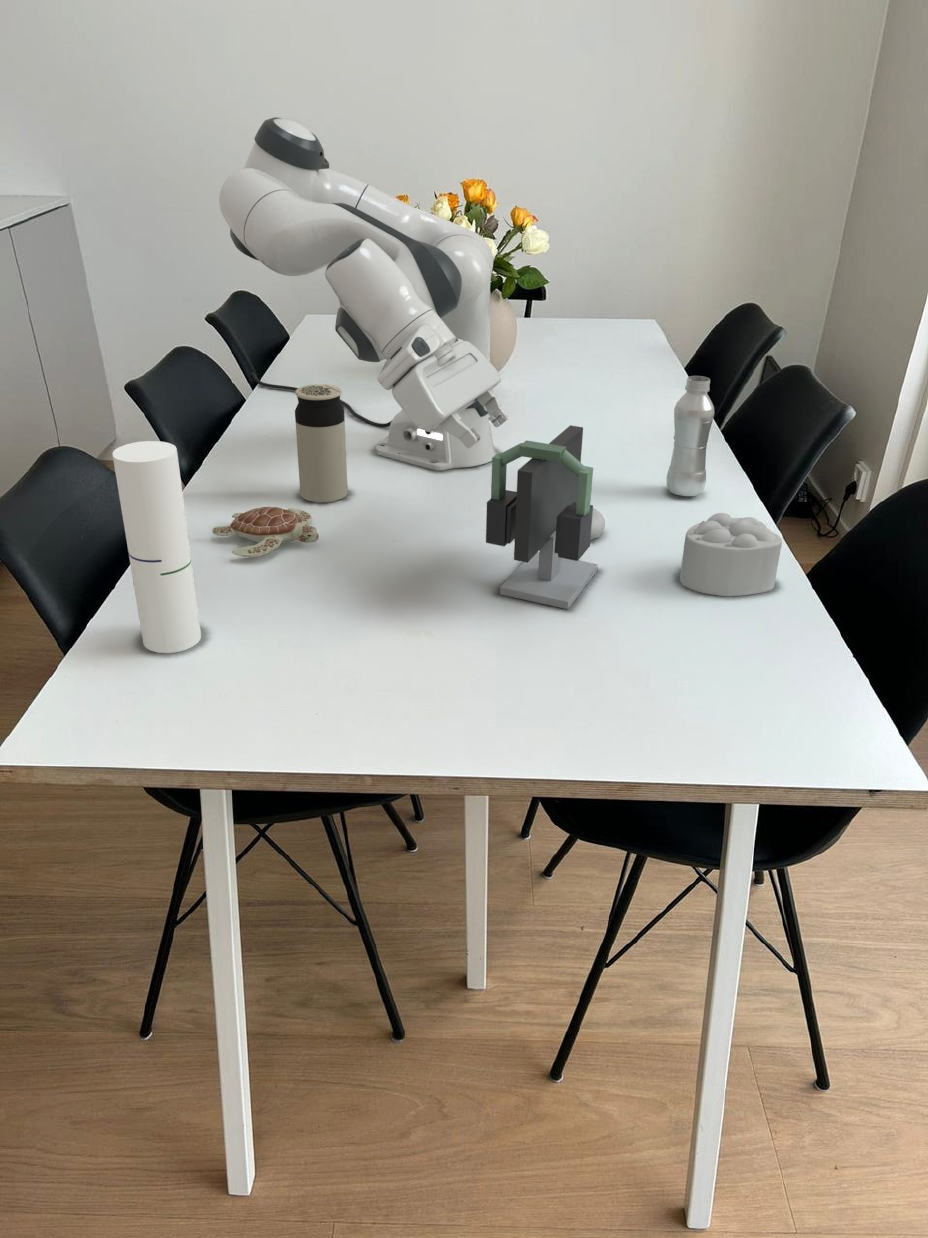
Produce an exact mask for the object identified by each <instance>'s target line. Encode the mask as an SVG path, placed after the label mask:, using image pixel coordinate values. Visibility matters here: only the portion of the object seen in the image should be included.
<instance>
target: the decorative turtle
mask: <svg viewBox="0 0 928 1238" xmlns="http://www.w3.org/2000/svg"><path fill="white" fill-rule="evenodd" d="M231 518H233V520H232V522H231V523H230V525H221V526H214V527H213V528H212V529H211V532H212V534H213V535H215V536H218V537H230V536H235V535H236V536H240V537H242V538H243V539H247V540H250V541H252V542H256V544H253V545H247V546H242V547H235V548H232V549H231V554H232V555H235V556H239V557H244V558H258V557H260V556H264V555H266V554H268V553H270V552H272V551H275V550H276V549H278V548H279V547H280V546H281V544H283V543H290V542H297V541H298V542H300V543H303V544H304V543H305V544H310V543H314V542H316V541H318V540H319V537H320V536H319V533H318V530H317V528H316V527H314V526H311V525H308V524H309V523H310V522H311V520H312V515H311V514H310V513H308V512H306V511H304V510H303V509H298V508H294V507H288V508H287V509H285V508H282V507H278V506H261V507H256V508H252V509H250V510H248V511H245V512H236V513H233V514H232V515H231Z"/></svg>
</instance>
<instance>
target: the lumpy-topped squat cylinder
mask: <svg viewBox="0 0 928 1238" xmlns="http://www.w3.org/2000/svg"><path fill="white" fill-rule="evenodd" d="M683 543H684V544H683V551H682V558H681V566H680V573H679V582H680V584H681V585H682V586H684V587H685V588H687V589H689V590H692V591H694V592H698V593H702V594H707V595H712V596H719V597H720V596H721V597H742V596H751V595H755V594H756V595H757V594H762V593H767V592H770V591H772V590H773V589H774V588H775V584H776V578H777V573H778V567H779V561H780V555H781V549H782V546H783V545H782V543H783V540H782V538H781V536H780V535H778V534H777V533H775V532H774V531H772V530H771V529H769V528H768V527H767V526H766V524H764V523H763V522H762V521H760V520H758V519H757V518H755V517H752V516H747V517H746V516H745V517H731V515H730V514H728V513H726V512H717V513H714V514H713V515H711V516H710V517H709V518H708V519H707V520H702V521H701V522H699V523H697V524H694V525H692V526H691V527H689V528H688V529H687V531H686V533H685V537H684V542H683Z"/></svg>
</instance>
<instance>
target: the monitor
mask: <svg viewBox="0 0 928 1238" xmlns="http://www.w3.org/2000/svg"><path fill="white" fill-rule="evenodd" d="M583 437H584V427H583V426H577V425H571V424H570V425H569V426H568V427H566V428H565V429H564V430H563V431H562V432H561V433H559V434H558V435H557V436H555V438H553V439H552V440H551V441H550V442H549V443H548V444H552V445H558V446H565V447H566V450H567V451H568V452H569V453H570V454H571V455H572V456H574V457H575V458H576V459H577V460H578V461H579V462H580V463H582V450H583ZM516 473H517V475H516V492H517V497H516V520H515V539H514V546H513V547H514V548H513V561H516V562H517V561H518V562H522V563H521V564H520V565H519V566H518V567H517V568H516V569H515V570H514V571H513V573H512V574H510V576H509V577H508V578H507V579H506V580H504V582H503V584H501V585H500V586H499V595H500V596H505V597H510V598H514V599H519V600H524V601H528V602H533V603H537V604H540V605H541V604H542V605H545V606H551V607H555V608H560V609H564V610H568V609H569V608H570V607H571V606H572V604H573V603H574V602H575V601H576V600H577V598H578V597H579V595H580V594H581V593H582V591H583V590H584V589H585V588H586V586H587V585H588V584H589V582H590V581H591V580H592V578H593V577H594V576H595V575H596V574H597V572H598V569H599V568H598V566H599V564H598V563H595V562H590V561H585V560H580V559H579V560H578V561H574V560H569V559H564V558H559V557H558V553H555V537H556V521H557V516H558V515H559V514H560V513H561V512H562V511H563V510H564V509H565V508H566V507H567V506H568V505H571V504H572V503H573V502H576V503H577V490H578V477H577V476H576V475H575V474H574V473H573V472H572V471H570V470H569V469H568V468H567V467H566V466H565V465H564V464H562V463H561V462H560V463H559V462H553V461H547V460H541V459H535V458H529V460H528V461H527V462H525V463H524V464H523V465H522V466H521V467H520V468H519V469H517V472H516Z"/></svg>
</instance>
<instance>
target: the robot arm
mask: <svg viewBox="0 0 928 1238" xmlns="http://www.w3.org/2000/svg"><path fill="white" fill-rule="evenodd" d="M218 197H219V198H218V204H219V209H220V212H221V215H222V217H223V219H224V220H225V222H226V224H227V225H228V227H229V235H230V238H231V240H232V243H233V245H234V247H235V248H236V249H237V250H238V251H239V252H241V253H242V254H244V255H245V256H247V257H249V258H251V259H253V260H255V261H259V262H260V263H261V264H263V266H265V267H266V268H268V269H269V270H271V271H272V272H275V273H277V274H279V275H282V276H286V277H287V276H288V277H298V276H305V275H309V274H312V273H314V272H316V271H318V270H321V269H322V268H325V267H326V269H325V271H324V276H325V279H326V280H327V281H326V282H328V284H329V286H330V287H331V289H332V291H333V292H334V294H335V295H336V297H337V299H338V301H339V302H338V303H339V307H338V309H337V313H336V318H335V324H334V325H335V326H334V330H335V332H336V334H337V335H338V336H339V337H340V338H341V339H342V341H343V342H344V343H345V344H346V346H347V347H348V348H349V349H350V351H351V352H353V354H354V356H355V358H357V360H358V361H364V362H368V363H369V362H370V363H380V362H382V361H384V360H386V361H384V363H383V367H382V368H381V370H380V372H379V373H378V375H377V382H378V383H379V384H380V386H381V387H382V388H383V390H384V389H385V390H386V391H390V390H391V395H392V396H393V399H394V400H395V402H396V403H397V405H399V407H400V408H401V409H402V410H400V411H399V412H397V413H396V414H395V415H394V416H393V418H392V419H391V420H390V421H389V422H385V423H379V422H374V421H372V420H370V419H368V418H366V417H364V416H362V415H360V414H359V413H357V412H356V411H355V410H354V409H353V408H352V406H350V404H348V403H347V402H345V401H344V400H342V399H340V403H341V405H342V407H345V408H346V409H347V410H348V411H349V413H350V414H351V415H352V416H353V417H354V418H356V419H358V420H360V421H362V422H364V423H365V424H367V425H369V426H373V427H375V428H376V427H377V428H388V427H389V428H388V435H387V436H385V437H384V438H383V439H381V440H380V441H379V442H378V443H377V445H376V450H375V451H376V455H378V456H381V457H386V458H389V459H392V460H396V461H400V462H404V463H408V464H410V465H414V466H418V467H421V468H425V469H429V470H433V471H437V472H438V471H446V470H451V469H458V468H472V467H476V466H477V467H478V466H482V465H484V464H487V463H490V462H492V457H493V456H495V455H496V454H497V451H496V449H495V444H494V440H493V436H492V428H491V424H492V425H493V426H494V427H495V428H498V427H500V426H502V425H503V424H504V423H505V422H507V421H508V420H509V419H508V418H509V416H508V414H507V413H506V412H505V410H503V408H502V405H501V402H500V400H499V397H498V394H497V393H496V392H495V391H494V389H495V388H496V387H497V386H498V385H499V384H500V383H501V382H502V381H501V380H502V379H501V376H500V373H499V371H498V370H497V368H496V367H495V366H494V365H493V363H491V361H490V360H491V359H490V358H491V281H492V274H493V269H494V255H493V252H492V249H491V247H490V245H489V243H488V242H487V240H486V239H485V238H484V237H483V236H481V235H480V234H479V233H478V232H477V233H476V232H475V231H473V230H470V229H468V228H466V227H464V226H462V225H460V224H457V223H454V222H453V221H450V220H448V219H445V218H443V217H441V216H438V215H435V214H433V213H431V212H428V211H425V210H423V209H420V208H418V207H415V206H413V205H411V204H408V203H407V202H404V201H403V200H400V199H399V198H397V197H394V196H392V195H390V194H389V193H387V192H385V191H383V190H381V189H379V188H378V187H375V186H373V185H372V184H369V183H367V182H365V181H363V180H361V179H359V178H357V177H354V176H352V175H349V174H346V173H344V172H341V171H338V170H335V169H331V168H330V162H329V161H328V160H327V158H326V157H325V150H324V148H323V146H322V144H321V142H320V140H319V138H318V137H317V135H316V134H314V132H312V131H311V130H310V129H309V128H307V127H306V126H305V125H304V124H302V123H300V122H299V121H297V120H294V119H290V118H283V117H275V116H274V117H271V118H267V119H265V120H264V121H263V122H262V123H261V125H260V126H259V128H258V129H257V132H256V134H255V136H254V143H253V146H252V147H251V150H250V152H249V155H248V157H247V159H246V162H245V165H244V167H243V168H241V169H238V170H235V171H234V172H232V173H231V174H230V175H229V176H228V177H227V178H226V179H225V181H224V182H223V184H222V186H221V188H220V191H219V196H218ZM248 378H250V379H252V378H253V380H254V381H255V383H256V384H258V385H259V386H262V387H266V388H269V389H271V388H272V389H280V390H287V391H294V392H295V391H296V390H297V389H298V388H299V387H296V386H289V385H280V384H271V383H267V382H264V381H261V380H259V378H258V376H257V374H256V373H255V372H254V371H253V372H250V374H249V376H248Z"/></svg>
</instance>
